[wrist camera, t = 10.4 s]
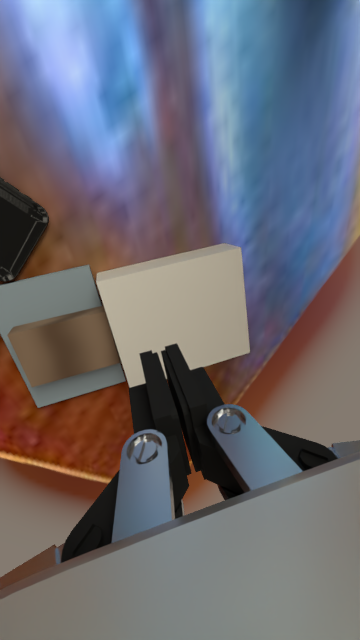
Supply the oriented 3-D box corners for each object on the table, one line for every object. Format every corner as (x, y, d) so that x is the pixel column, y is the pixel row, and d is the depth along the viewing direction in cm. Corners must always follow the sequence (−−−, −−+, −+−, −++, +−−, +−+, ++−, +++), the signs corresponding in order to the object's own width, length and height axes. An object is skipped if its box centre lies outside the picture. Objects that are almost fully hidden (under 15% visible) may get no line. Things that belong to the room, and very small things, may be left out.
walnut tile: (104, 305, 29) (105, 311, 27) (119, 354, 31) (120, 362, 29) (13, 326, 27) (7, 335, 25) (35, 376, 29) (31, 387, 28)
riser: (224, 243, 30) (241, 247, 27) (234, 337, 35) (250, 352, 31) (96, 273, 28) (96, 282, 24) (127, 370, 33) (130, 389, 29)
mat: (88, 264, 27) (88, 265, 27) (125, 378, 33) (125, 381, 32) (-19, 289, 26) (-22, 290, 25) (39, 404, 31) (38, 407, 31)
